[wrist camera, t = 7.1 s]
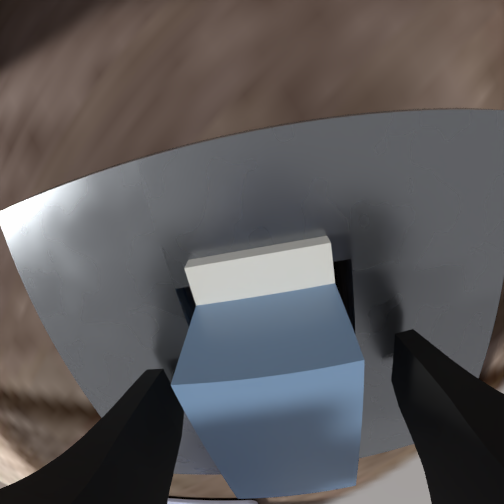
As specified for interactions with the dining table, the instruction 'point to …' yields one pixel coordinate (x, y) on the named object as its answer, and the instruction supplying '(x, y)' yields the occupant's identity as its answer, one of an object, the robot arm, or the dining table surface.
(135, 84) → the dining table surface
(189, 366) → the block
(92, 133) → the dining table surface
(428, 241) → the plate
